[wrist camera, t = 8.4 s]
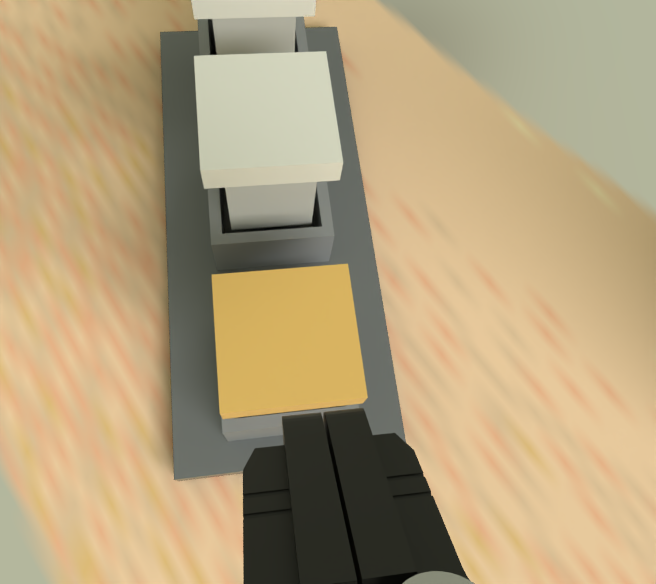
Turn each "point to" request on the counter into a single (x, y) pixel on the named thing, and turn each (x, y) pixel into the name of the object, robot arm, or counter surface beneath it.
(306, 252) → the keypad
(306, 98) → the middle key
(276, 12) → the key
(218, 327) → the amber key
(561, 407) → the counter surface
